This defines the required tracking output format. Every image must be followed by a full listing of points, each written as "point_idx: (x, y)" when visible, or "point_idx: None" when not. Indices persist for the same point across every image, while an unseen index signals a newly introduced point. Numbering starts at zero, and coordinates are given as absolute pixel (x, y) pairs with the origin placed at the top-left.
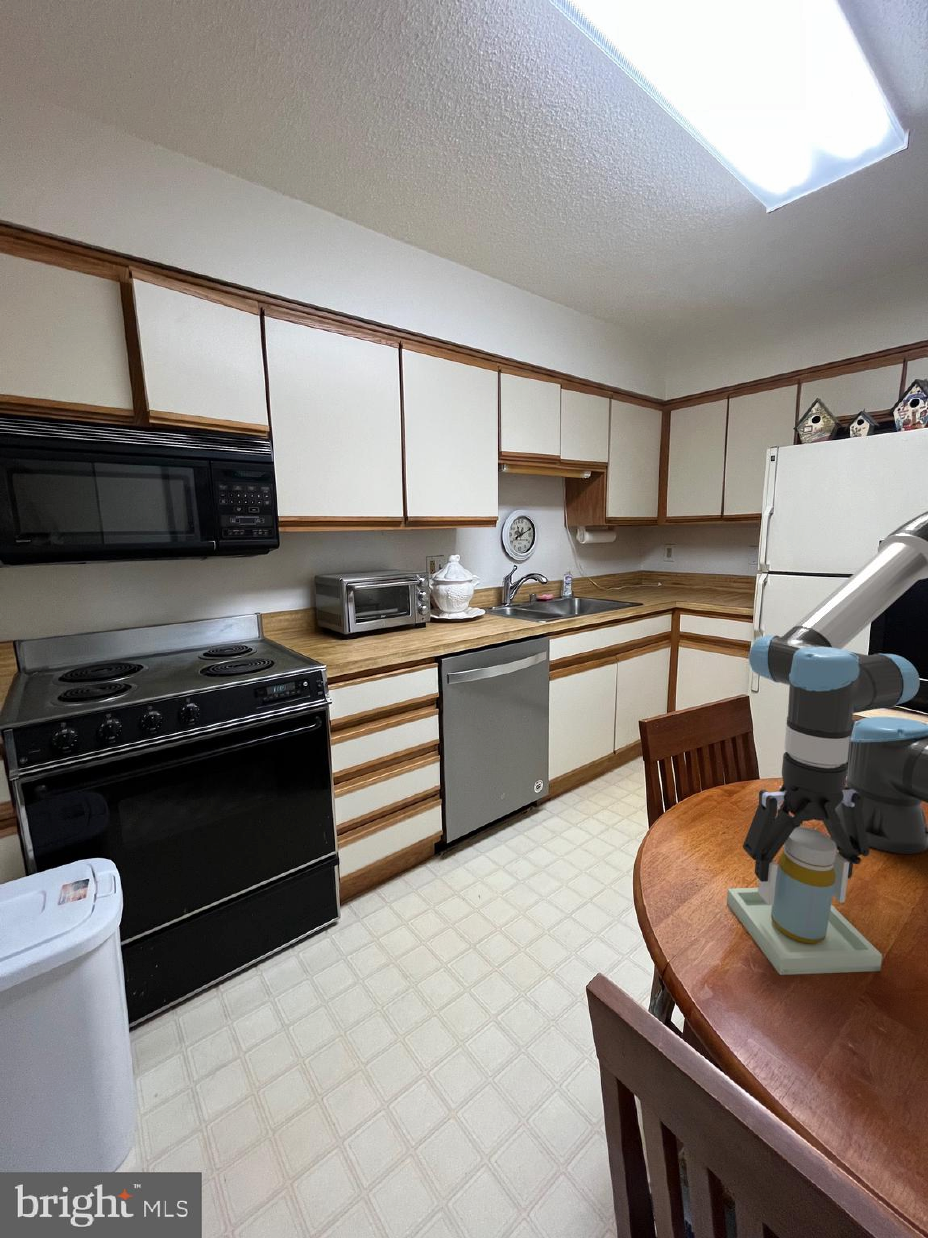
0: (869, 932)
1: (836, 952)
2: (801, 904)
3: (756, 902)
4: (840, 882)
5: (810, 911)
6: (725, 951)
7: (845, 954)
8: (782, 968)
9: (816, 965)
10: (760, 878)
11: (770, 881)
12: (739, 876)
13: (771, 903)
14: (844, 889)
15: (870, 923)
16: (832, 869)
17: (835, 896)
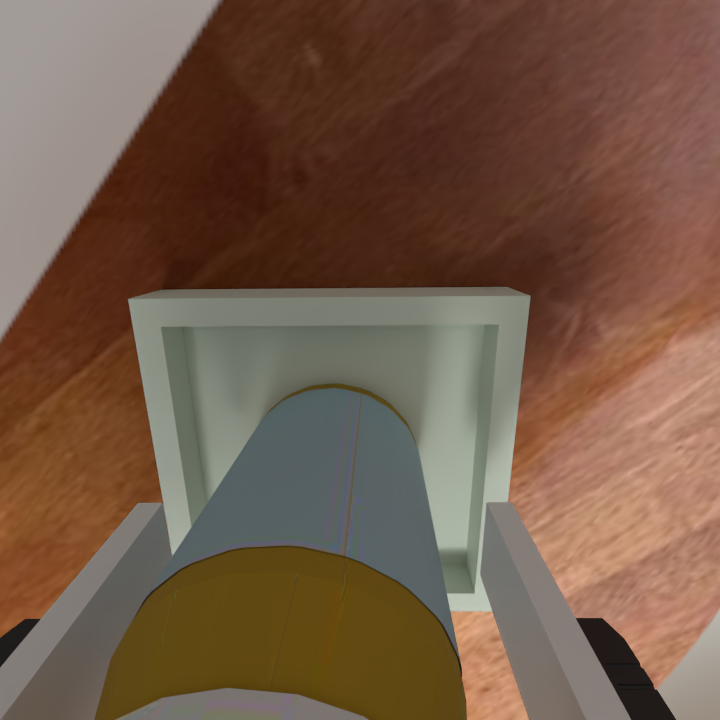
0: (97, 440)
1: (296, 317)
2: (389, 481)
3: None
4: (103, 594)
5: (352, 449)
6: (619, 385)
7: (267, 308)
8: (509, 289)
9: (384, 292)
10: (621, 640)
11: (573, 615)
12: None
13: (500, 507)
14: (104, 555)
15: (71, 473)
16: (123, 700)
17: (162, 534)
